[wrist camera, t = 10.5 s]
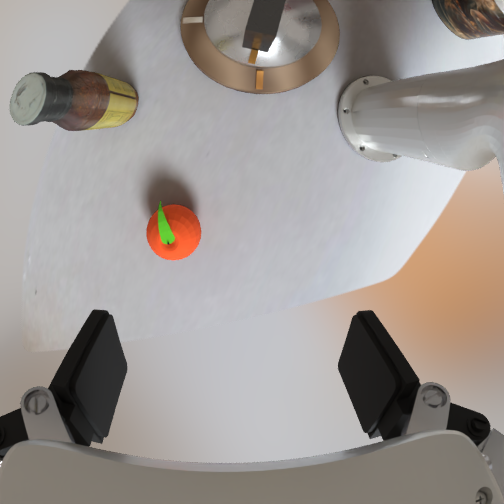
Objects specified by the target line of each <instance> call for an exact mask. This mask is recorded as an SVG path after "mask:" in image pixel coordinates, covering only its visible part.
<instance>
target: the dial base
mask: <svg viewBox="0 0 504 504" xmlns="http://www.w3.org/2000/svg"><path fill="white" fill-rule="evenodd" d="M208 2H209V0H189V1H188V2H187V4H186V6H185V9H184V11H183V14H182V19H181V35H182V40H183V43H184V46H185V48H186V50H187V52H188V54H189V56H190V58H191V59H192V61H193V62H194V64H195V65H196V66H197V67H198V68H199V69H200V70H201V71H202V72H203V73H204V74H205V75H207V76H208V77H209V78H211V79H212V80H214V81H216V82H217V83H219V84H221V85H223V86H225V87H228V88H231V89H234V90H237V91H241V92H246V93H254V94H273V93H280V92H285V91H289V90H292V89H295V88H298V87H300V86H302V85H304V84H306V83H307V82H309V81H311V80H312V79H314V78H315V77H317V76H318V75H319V74H321V73H322V72H323V71H324V70H325V69H326V68H327V67H328V65H329V64H330V63H331V61H332V60H333V58H334V56H335V54H336V51H337V48H338V44H339V36H340V32H339V24H338V20H337V17H336V14H335V12H334V10H333V8H332V6H331V5H330V3H329V2H328V0H313V2H314V3H315V4H316V6H317V8H318V10H319V13H320V16H321V22H322V28H321V34H320V37H319V39H318V41H317V43H316V45H315V46H314V47H313V48H312V49H311V50H310V51H309V52H308V53H307V54H306V55H305V56H304V57H303V58H301V59H300V60H298V61H296V62H294V63H292V64H290V65H287V66H283V67H279V68H270V69H261V68H253V67H248V66H244V65H241V64H238V63H236V62H234V61H232V60H230V59H228V58H227V57H225V56H223V55H222V54H221V53H220V52H219V51H218V50H217V49H216V48H215V47H214V46H213V45H212V43H211V42H210V40H209V38H208V36H207V33H206V29H205V25H204V13H205V9H206V6H207V4H208Z"/></svg>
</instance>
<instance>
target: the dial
mask: <svg viewBox="0 0 504 504" xmlns="http://www.w3.org/2000/svg"><path fill="white" fill-rule="evenodd" d="M204 25H205V29H206V33H207V36H208V38H209V40H210V42H211V43H212V45H213V46H214V47H215V48H216V49H217V50H218V51H219V52H220V53H221V54H222V55H223V56H225V57H227V58H228V59H230V60H232V61H234V62H236V63H238V64H241V65H244V66H248V67H253V68H261V69H270V68H279V67H283V66H287V65H290V64H292V63H294V62H296V61H298V60H300V59H301V58H303V57H304V56H305V55H306V54H307V53H308V52H309V51H310V50H311V49H312V48H313V47H314V46H315V45H316V43H317V41H318V39H319V37H320V34H321V28H322V22H321V16H320V13H319V10H318V8H317V6H316V4H315V3H314V2H313V0H209V2H208V4H207V6H206V9H205V13H204Z"/></svg>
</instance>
